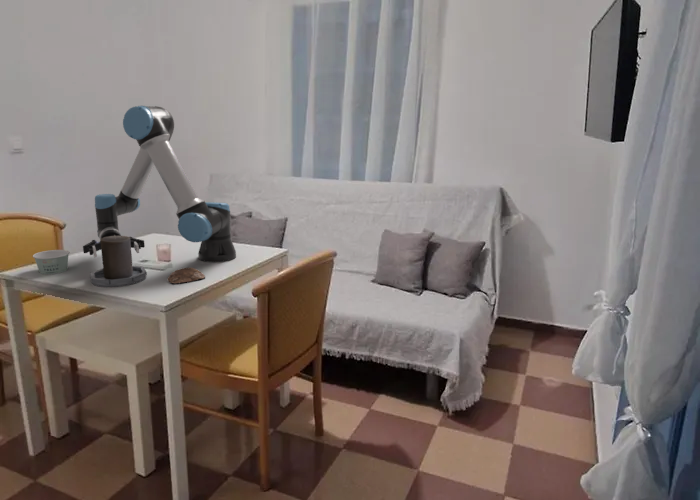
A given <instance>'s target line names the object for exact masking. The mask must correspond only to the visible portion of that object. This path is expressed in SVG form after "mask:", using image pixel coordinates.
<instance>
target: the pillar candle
mask: <svg viewBox="0 0 700 500" xmlns="http://www.w3.org/2000/svg"><path fill="white" fill-rule="evenodd" d="M130 237H131V236H127V235H121V236H115V235H114V236H109V237H104V238H102V239H101V250H100V251H101V259H102V268H103V271H104V278H106V279H111V280H112V279H120V278H128V277H131V276H132V275H133V267H132V266H133V257H132V248H131V242H130Z"/></svg>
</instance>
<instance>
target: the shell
mask: <svg viewBox="0 0 700 500" xmlns="http://www.w3.org/2000/svg"><path fill="white" fill-rule="evenodd" d="M203 280H206V276H205V274H204V273H203V272H202V271H201V270H198V269H197V268H194V267H183V268H179V269H176V270H175V271H172V272H171V273H170V274H169V276H168V277H167V282H168V283H169V284H171V285H179V284H180V285H183V284H188V283H194V282H198V281H199V282H200V281H203Z"/></svg>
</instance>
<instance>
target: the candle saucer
mask: <svg viewBox="0 0 700 500" xmlns="http://www.w3.org/2000/svg"><path fill="white" fill-rule="evenodd" d="M132 267H133V275H132V276H131V277H128V278H120V279H112V280H111V279H106V278H104V271H103V267H102V268H100V269H98V270H95V271H92V272H90V282H91V284H92V285H94V286H96V287H101V288H102V287H103V288H116V287H124V286H125V287H126V286H130V285H134V284H138V283H140V282H142V281H144V280H146V279H147V276H148V275H147V273H148V272H147V270H146V269H145V266H139V265H132Z"/></svg>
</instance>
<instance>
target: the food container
mask: <svg viewBox="0 0 700 500" xmlns="http://www.w3.org/2000/svg"><path fill="white" fill-rule="evenodd" d="M70 254H71V253H70V251H69V250H65V249H52V250H44V251H39V252H36V253H34V254H33V255H32V258H34V260H35V263H36V266H37V270H38V272H39V273H40V274H42V275H54V274H60V273H64V272H66V271H68V269H69V265H68V264H69V255H70Z"/></svg>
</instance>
